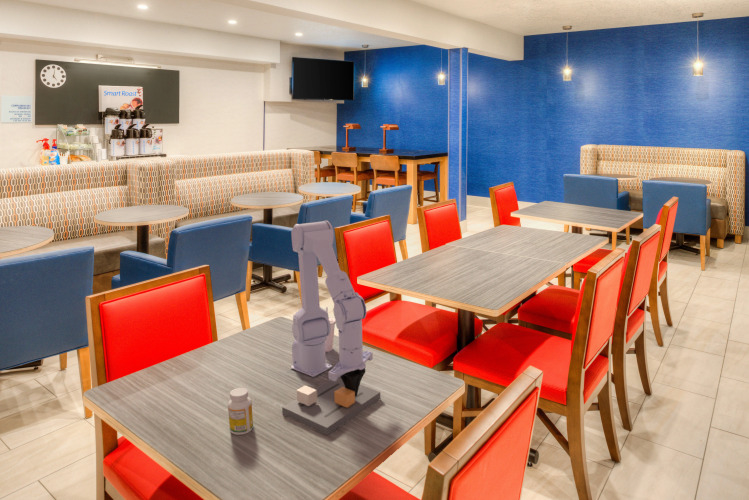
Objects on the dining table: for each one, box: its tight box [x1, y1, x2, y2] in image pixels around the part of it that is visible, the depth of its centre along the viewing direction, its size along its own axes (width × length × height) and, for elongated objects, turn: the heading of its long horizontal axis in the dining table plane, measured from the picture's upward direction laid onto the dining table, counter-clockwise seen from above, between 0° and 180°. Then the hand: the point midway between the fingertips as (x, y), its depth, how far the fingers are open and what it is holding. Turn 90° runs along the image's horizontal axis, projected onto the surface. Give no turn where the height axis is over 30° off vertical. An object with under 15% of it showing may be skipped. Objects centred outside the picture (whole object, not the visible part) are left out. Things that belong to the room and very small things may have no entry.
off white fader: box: [296, 384, 317, 406], centre depth 130 cm, size 4×3×3 cm
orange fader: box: [334, 387, 355, 408], centre depth 129 cm, size 4×3×3 cm
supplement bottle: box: [227, 387, 254, 436], centre depth 122 cm, size 5×5×10 cm
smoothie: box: [325, 306, 336, 353], centre depth 163 cm, size 6×6×14 cm
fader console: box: [281, 377, 381, 436], centre depth 132 cm, size 15×20×2 cm
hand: (352, 395), depth 131 cm, fingers closed
